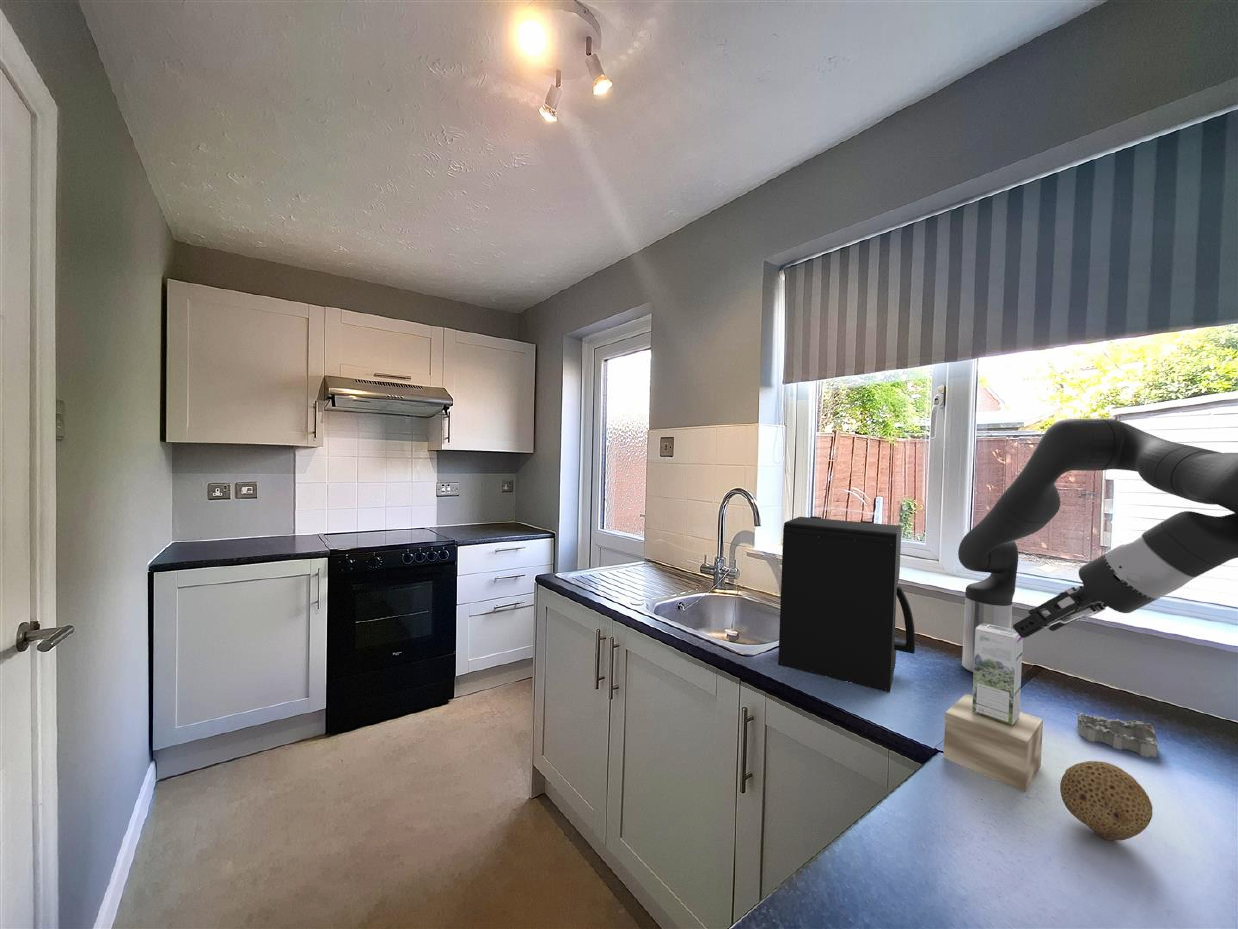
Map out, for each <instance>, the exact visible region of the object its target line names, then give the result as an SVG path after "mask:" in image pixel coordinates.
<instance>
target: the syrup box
mask: <svg viewBox="0 0 1238 929" xmlns="http://www.w3.org/2000/svg"><path fill="white" fill-rule="evenodd" d="M975 629H976V630H975V651H974V672H973V677H972V678H973V679H972V680H973V681H972V696H973V701H972V712H974V713H977V714H980V715H983V716H986V717H989V718H992V719H995V720H998V721H1001V722H1004V723H1007V724H1011V725H1013V724H1014V723H1015V721H1016V720H1017V719H1018V717H1019V716H1020V712H1021V687H1022V686H1021V684H1022V683H1021V682H1022V668H1023V667H1022V665H1023V664H1022V662H1023V650H1024V649H1023V648H1024V646H1023V645H1024V642H1023V641H1024V638H1022V637H1020V635H1019V634H1018V633H1017V632H1016V631H1015V629H1014V628H1011V629H1008V628H1004V627H999V626H994V625H990V624H985V623H983V624H980V625H979V626H978V627H977V628H975Z"/></svg>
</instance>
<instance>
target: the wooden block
mask: <svg viewBox="0 0 1238 929" xmlns="http://www.w3.org/2000/svg"><path fill="white" fill-rule="evenodd" d="M972 701H973V695H971V694H968V693H965V694H964V695H963V696H962V697H961V698H960V699H958V700H957V701H956V702H955V703H954V704H953V705H952V706H951V707H950V708H948V709H947V710H946V711H945V712H944V713H945V715H944V719H945V720H944V733H943V734H944V735H943V736H944V737H943V755H942V756H943V759H946V760H948V761H951V762H953V763H956V764H958V765H960V766H963V767H965V768H967V769H969V770H972V771H975V772H977V773H979V774H981V775H984V776H985V777H988V778H990V779H992V780H995V781H997V782H1000V783H1002V784H1005V785H1007V786H1009V787H1011V788H1014V789H1016V790H1019V791H1021V792H1024V793H1026V791H1027V789H1028V788H1029V786H1030V784H1031V783H1032V781H1033V779H1034V777H1035V775H1037V773H1038V771H1039V769H1040V768H1041V765H1042V751H1043V750H1042V749H1043V748H1042V747H1043V727H1044V724H1043V723H1044V719H1043V718H1040V717H1038V716H1034V715H1031V714H1028V713H1025V712H1022V711H1020V716H1019V717H1018V719H1017V720H1016V721H1015V723H1014V724H1013V725H1011V724H1007V723H1004V722H1001V721H998V720H995V719H992V718H989V717H986V716H983V715H980V714H977V713H974V712H972Z"/></svg>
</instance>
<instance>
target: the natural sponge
mask: <svg viewBox="0 0 1238 929" xmlns="http://www.w3.org/2000/svg"><path fill="white" fill-rule="evenodd" d="M1060 779H1061V780H1060V786H1059V787H1060V788H1059V790H1060V796H1061V800H1062V802H1063V804H1064V806H1065V807H1066V809H1067V810H1068V812H1069V813H1070V814H1071V815H1073V816H1074V818H1076V819H1077V820H1078V821H1080V822H1081V823H1083V824H1084V825H1085V826H1087V827H1088V828H1089V829H1090V830H1091V831H1092V832H1093V833H1094V834H1095V835H1097V836H1099V837H1100V838H1103V839H1104V840H1108V841H1109V840H1110V841H1114V842H1115V841H1126V840H1128V839H1131V838H1134V837H1136V836H1138V835H1140V834H1141V833H1142V832H1144V830H1146V829H1147V828H1148V826H1149V825H1150V823H1151V822H1152V819H1153V810H1154V809H1153V804H1152V802H1151V800H1150V798H1149V795H1148V794H1147V791H1146V790H1145V789H1144V787H1142V786H1141V784H1140V783H1139V782H1138V781H1137V780H1136V779H1135V778H1134V777H1133V776H1132V775H1131V774H1129V773H1128V772H1127V771H1125V770H1123V769H1122V768H1120V767H1118V766H1117V765H1115V764H1112V763H1109V762H1106V761H1101V760H1100V761H1096V760H1090V761H1089V760H1088V761H1082V762H1077V763H1075V764H1074V765H1072V766H1070V767H1068V768H1066V769H1065V773H1064V774H1062V777H1061V778H1060Z"/></svg>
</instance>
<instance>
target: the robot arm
mask: <svg viewBox="0 0 1238 929" xmlns="http://www.w3.org/2000/svg"><path fill="white" fill-rule="evenodd" d="M1107 470H1110V471H1111V470H1121V471H1131V472H1137V473H1138V475H1139V477H1140V478H1141V479H1142V480H1143V481H1144V482H1145V483H1146V484H1148V485H1150V486H1151V487H1153V488H1155V489H1157V490H1160V491H1162V492H1164V493H1167V494H1170V495H1173V496H1176V497H1179V498H1183V499H1185V500H1188V501H1191V502H1195V503H1199V504H1203V505H1212V506H1213V505H1214V506H1217V505H1218V506H1219V507H1222V508H1225V509H1226V510H1229V511H1230V512H1232V513H1230V514H1225V515H1221V516H1217V515H1216V516H1215V515H1208V514H1205V513H1201V512H1196V511H1190V510H1189V511H1188V510H1184V511H1181V512H1177V513H1176V514H1175V513H1174V514H1173V515H1172V516H1169V517H1168V518H1166V519H1164V520H1162V521H1161V522H1159V523H1158V524H1156V525H1154V526H1153V527H1151V528H1149V529H1148V530H1146V531H1144V532H1143V533H1141V534H1139V535H1137V536H1135V537H1131V538H1130V539H1126V540H1125V541H1123V542H1121V543H1119V544H1118V545H1116V546H1114V547H1113V548H1111V549H1109V550H1108V551H1106V552H1105V553H1103V554H1101V555H1099V556H1098V557H1096V558H1094V559H1092V560H1091V561H1090V562H1089V561H1088V563H1086V564H1084V565H1083V566H1081V567H1080V568H1079V570H1078V577H1079V579H1080V580H1081V582H1082V585H1080V586H1078V587H1074V586H1073V587H1070V588H1067V589H1065V590H1064V591H1061V592H1059V594H1057V595H1056V596H1054V597H1052V598H1051V599H1049V600H1047V601H1045V602H1043V603H1042V604H1040V605H1038V606H1037V607H1034V608H1031V609H1029V611H1028V614H1029V615H1028V616H1027V617H1024V618H1022V619H1021V620H1019V621H1017V622H1015V623H1014V624H1013V625H1012V618H1013V616H1012V614H1013V598H1014V595H1015V592H1016V584H1017V582H1016V581H1017V574H1018V566H1019V565H1018V564H1019V548H1018V545H1017V542H1016V540H1019V539H1022V538H1025V537H1028V536H1031V535H1033V534H1035V533H1038V531H1040V530H1042V529H1043V528H1044V527H1045V526H1047V524H1048V523H1049V522H1050V521H1051V520H1052V519H1053V518H1054V517H1055V516H1056V515H1057V513H1059V510H1060V507H1061V497H1060V494H1059V491H1058V488H1057V486H1056V484H1055V483H1056V481H1057V480H1058V479H1059V478H1060V477H1061V476H1062V475H1064V474H1065V473H1067V472H1072V471H1073V472H1074V471H1081V472H1082V471H1087V472H1089V471H1090V472H1091V471H1092V472H1096V471H1097V472H1099V471H1100V472H1101V471H1107ZM957 552H958V553H957V554H958V555H957V556H958V557H957V558H958V560H959V562H960V565H962V566H963V567H964V568H965V569H967V570H969V571H971V572H978V573H979V572H980V573H990V575H989V576H988V577H987V578H985V579H983V580H980V581H977V582H973V583H970V584H967V585H966V588H965V591H964V592H965V595H964V596H965V598H964V617H963V641H962V659H961V660H962V661H961V665H962V667H963V668H964V669H966V670H967V671H969V672H971V673H974V651H975V630H976V629H975V628H977V627H978V626H979V625H980V624H983V623H985V624H990V625H994V626H999V627H1004V628H1008V629H1013V630H1015V631H1016V632H1017V633H1018V634H1019V635H1020V637H1022V638H1023V639H1027V638H1029V637H1030V636H1033V635H1034V634H1037V633H1038V632H1040V631H1042V630H1043V629H1046V628H1047V629H1048V630H1049V631H1051V632H1054V631H1058V630H1059V629H1061V628H1063V627H1066V626H1068V625H1069V624H1071V623H1073V622H1077V621H1081V620H1086V619H1088V618H1091V617H1093V616H1094V615H1097V614H1100V613H1102V612H1104V611H1105V610H1106V609H1107V607H1108V608H1110V609H1111V610H1113V611H1115V612H1118V613H1122V614H1130V613H1133V612H1134V611H1135V612H1136V610H1138V609H1140V608H1143V607H1145V606H1146V605H1149V604H1151V603H1152V602H1154V601H1156V600H1159V599H1160V598H1162V597H1165V596H1167V595H1168V594H1171V593H1173V592H1175V591H1177V590H1178V589H1180V588H1182V587H1183V586H1185V585H1186V584H1188V583H1189V582H1191V581H1192V580H1193V579H1194V580H1195V578H1197V577H1199V576H1201V575H1203V574H1205V573H1207V572H1209V571H1211V570H1213V569H1215V568H1217V567H1219V566H1221V565H1223V564H1225V563H1227V562H1229V561H1231V560H1234V559H1237V558H1238V452H1220V451H1216V450H1212V449H1207V448H1203V447H1197V446H1193V445H1188V444H1183V443H1180V442H1179V443H1178V442H1174V441H1170V440H1167V439H1164V438H1160V437H1158V436H1156V435H1153V434H1150V433H1149V432H1145V430H1141V429H1139V428H1137V427H1135V426H1133V425H1132V424H1128V423H1127V422H1124V421H1120V420H1118V419H1117V420H1116V419H1113V418H1101V417H1100V418H1067V419H1061V420H1057V421H1055V422H1054V423H1053V424H1051V425H1050V426H1049V427H1048V429H1046V430H1045V431H1044V433H1043V435H1042V436H1041V438H1040V440H1039V441H1038V443H1037V445H1036V447H1035V448H1034V450H1033V452H1032V453H1031V455H1030V457H1029V459H1028V461H1027V463H1026V464H1025V465H1024V467H1023V468H1022V469H1021V471H1020V472H1019V473H1018V475H1017V477H1016V478H1015V479H1014V481H1013V482H1012V483H1011V484H1010V485H1009V486H1008V488H1007V489H1006V490H1005V491H1004V492H1003V494H1002V495H1001V496H1000V497H999V499H998V500H997V501H996V503H995V504H994V506H993V507H992V508H991V510H990V511H989V512H988V513H987V514H986V515H985V516H984V517H983V518H982V520H981V521H979V523H977V524H976V525H975V526H974V527H973V528H972V529H970V530H969V531H968V532H967V533H966V535H964V537H963V538H962V539H961V541H960V543H959V546H958V550H957ZM1046 611H1047V612H1048V613H1049V614H1048V615H1046V616H1045V615H1044V612H1046Z"/></svg>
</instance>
